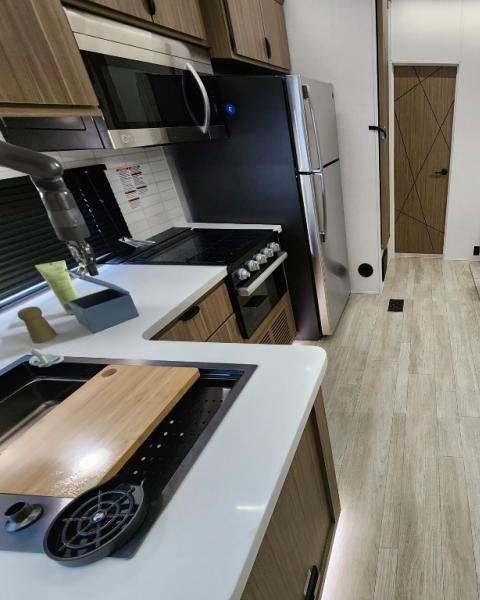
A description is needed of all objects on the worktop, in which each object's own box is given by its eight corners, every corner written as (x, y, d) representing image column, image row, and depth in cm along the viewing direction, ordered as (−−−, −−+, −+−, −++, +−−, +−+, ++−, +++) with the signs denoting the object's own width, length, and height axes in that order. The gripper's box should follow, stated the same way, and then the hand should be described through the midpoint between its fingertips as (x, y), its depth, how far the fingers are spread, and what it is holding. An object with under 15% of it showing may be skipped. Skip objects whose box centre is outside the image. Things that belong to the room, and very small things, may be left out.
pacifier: (53, 355, 100) (28, 367, 95) (43, 337, 97) (17, 349, 92) (70, 359, 98) (46, 371, 93) (61, 341, 95) (35, 353, 90)
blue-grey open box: (94, 333, 110) (81, 310, 106) (79, 323, 116) (67, 301, 112) (139, 315, 120) (130, 294, 116) (123, 307, 126) (114, 286, 122)
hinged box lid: (78, 278, 103) (87, 264, 104) (63, 270, 109) (71, 257, 110) (129, 294, 116) (136, 281, 117) (113, 286, 122) (119, 274, 123)
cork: (38, 334, 110) (20, 306, 105) (61, 331, 112) (44, 302, 106) (27, 344, 105) (8, 315, 100) (51, 340, 107) (33, 311, 101)
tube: (77, 307, 126) (51, 259, 117) (89, 307, 126) (64, 259, 117) (62, 314, 121) (34, 265, 112) (74, 315, 121) (47, 265, 112)
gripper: (44, 222, 103) (68, 273, 111) (61, 229, 97) (86, 282, 104) (75, 218, 109) (96, 266, 117) (93, 223, 102) (114, 274, 110)
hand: (91, 273), depth 111 cm, fingers closed on hinged box lid, 5 cm apart
